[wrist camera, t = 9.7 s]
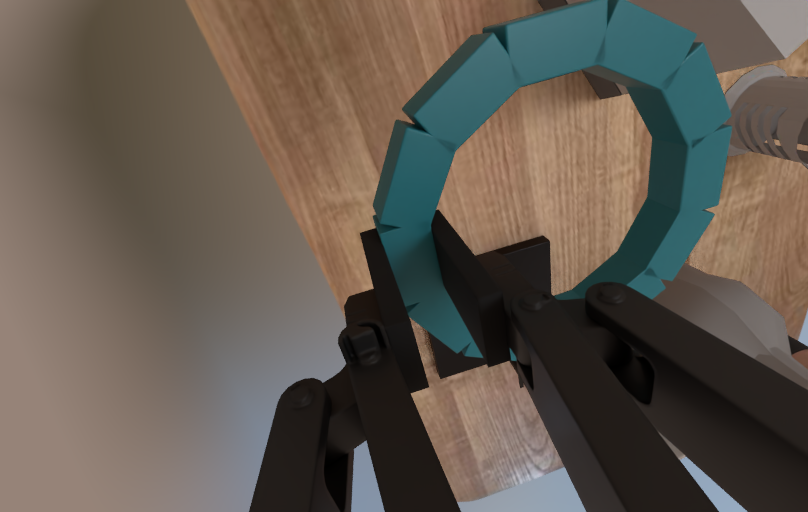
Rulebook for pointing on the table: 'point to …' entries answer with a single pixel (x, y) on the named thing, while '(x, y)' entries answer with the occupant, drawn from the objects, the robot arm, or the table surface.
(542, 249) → the post
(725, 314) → the bottle
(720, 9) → the alarm clock
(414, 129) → the ring
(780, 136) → the french press
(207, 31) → the table surface
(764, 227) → the table surface
